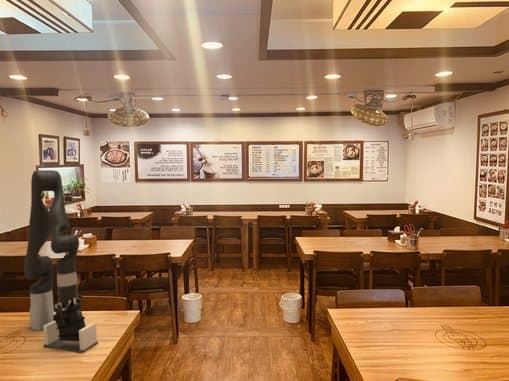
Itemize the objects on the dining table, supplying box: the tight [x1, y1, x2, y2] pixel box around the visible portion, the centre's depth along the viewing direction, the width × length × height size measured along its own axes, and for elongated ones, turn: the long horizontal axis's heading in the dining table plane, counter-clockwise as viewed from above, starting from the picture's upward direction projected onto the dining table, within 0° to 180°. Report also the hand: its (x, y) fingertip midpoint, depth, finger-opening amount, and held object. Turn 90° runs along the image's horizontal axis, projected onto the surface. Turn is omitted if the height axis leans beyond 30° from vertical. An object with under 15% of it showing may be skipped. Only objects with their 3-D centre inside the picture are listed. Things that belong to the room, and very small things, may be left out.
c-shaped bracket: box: [42, 320, 98, 350], centre depth 164 cm, size 20×8×8 cm, turn 73°
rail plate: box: [42, 338, 99, 354], centre depth 164 cm, size 20×9×1 cm, turn 73°
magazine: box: [53, 303, 87, 341], centre depth 164 cm, size 4×13×15 cm, turn 82°
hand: (69, 322), depth 164 cm, fingers closed on magazine, 4 cm apart
